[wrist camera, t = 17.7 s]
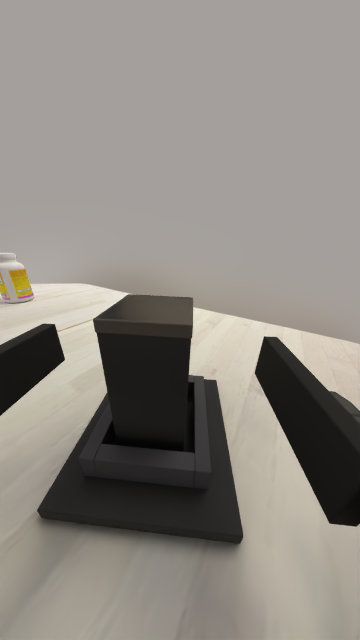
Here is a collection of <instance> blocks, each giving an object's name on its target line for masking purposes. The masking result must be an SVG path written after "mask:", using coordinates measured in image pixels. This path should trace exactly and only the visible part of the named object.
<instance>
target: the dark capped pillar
mask: <svg viewBox="0 0 360 640" xmlns="http://www.w3.org/2000/svg"><path fill="white" fill-rule="evenodd" d="M93 322H94V328H95V332H96V333H97V337H98V343H99V348H100V353H101V359H102V364H103V370H104V375H105V381H106V386H107V391H108V397H109V402H110V408H111V413H112V419H113V424H114V429H115V435H116V440H117V445H120V446H130V447H139V448H149V449H159V450H169V451H179V452H184V438H185V423H186V407H187V392H188V377H189V361H190V346H191V338H192V331H193V298H189V297H168V296H150V295H130V294H129V295H127V296H126V297H124V298H123V299H121V300H120V301H118V302H117V303H116V304H114V305H113V306H111V307H110V308H108V309H107V310H106V311H104V312H103V313H101V314H100V315H98V316H97V317H96V318H94V319H93Z"/></svg>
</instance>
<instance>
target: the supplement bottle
mask: <svg viewBox="0 0 360 640" xmlns="http://www.w3.org/2000/svg"><path fill="white" fill-rule="evenodd" d="M16 258H17V257H16V255H15V253H0V293H1V295H2V298H3V300H4V301H5V302H7V303H19V302H26V301H29V300H32V299H33V298H34V295H33V292H32V289H31V286H30V283H29V280H28V277H27V274H26V270H25V268H24V266H23V265H22V264H21V263H18V262H17V261H16Z"/></svg>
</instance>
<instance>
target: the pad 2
mask: <svg viewBox="0 0 360 640" xmlns="http://www.w3.org/2000/svg"><path fill="white" fill-rule="evenodd" d="M37 511H38V513H39V514H40V516H41V517H42V518H46V519H53V520H61V521H69V522H77V523H84V524H92V525H100V526H108V527H115V528H123V529H131V530H139V531H146V532H154V533H162V534H170V535H177V536H185V537H193V538H201V539H208V540H216V541H224V542H232V543H241V541H242V538H243V531H242V525H241V520H240V514H239V508H238V502H237V497H236V491H235V485H234V479H233V474H232V468H231V462H230V456H229V451H228V445H227V439H226V433H225V428H224V422H223V416H222V411H221V405H220V399H219V393H218V388H217V382H216V380H207V379H204V377H203V376H192V375H189V377H188V392H187V407H186V423H185V438H184V452H179V451H169V450H159V449H149V448H139V447H130V446H120V445H117V440H116V435H115V429H114V424H113V419H112V413H111V408H110V402H109V397H108V393H107V394H106V396H105V398H104V399H103V401H102V403H101V404H100V406H99V408H98V409H97V411H96V413H95V414H94V416H93V418H92V419H91V421H90V423H89V424H88V426H87V428H86V429H85V431H84V433H83V434H82V436H81V438H80V439H79V441H78V443H77V444H76V446H75V448H74V449H73V451H72V453H71V454H70V456H69V458H68V459H67V461H66V463H65V464H64V466H63V468H62V469H61V471H60V473H59V474H58V476H57V478H56V479H55V481H54V483H53V484H52V486H51V488H50V489H49V491H48V493H47V494H46V496H45V498H44V499H43V501H42V503H41V505H40V506H39V508H38V510H37Z"/></svg>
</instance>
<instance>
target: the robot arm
mask: <svg viewBox="0 0 360 640" xmlns="http://www.w3.org/2000/svg"><path fill="white" fill-rule="evenodd" d="M64 360H65V358H64V354H63V351H62V348H61V344H60V341H59V337H58V334H57V330H56V327H55V324H42V325H40V326H38V327H35V328H33V329H31V330H29V331H27V332H25V333H23V334H21V335H19V336H17V337H15V338H13V339H11V340H9V341H7V342H5V343H3V344H1V345H0V416H1V415H2V414H3V413H4V412H5V411H6V410H8V409H9V408H10V407H11V406H12V405H13V404H14V403H16V402H17V401H18V400H19V399H20V398H21V397H23V396H24V395H25V394H26V393H27V392H28V391H29V390H31V389H32V388H33V387H34V386H35V385H36V384H38V383H39V382H40V381H41V380H42V379H43V378H45V377H46V376H47V375H48V374H49V373H50V372H51V371H53V370H54V369H55V368H56V367H57V366H58V365H60V364H61V363H62V362H63V361H64ZM255 375H256V377H257V379H258V381H259V383H260V385H261V387H262V389H263V391H264V393H265V395H266V397H267V399H268V401H269V403H270V405H271V407H272V409H273V411H274V413H275V415H276V417H277V419H278V421H279V423H280V425H281V427H282V429H283V431H284V433H285V435H286V437H287V439H288V441H289V443H290V445H291V447H292V449H293V451H294V453H295V455H296V457H297V459H298V461H299V463H300V465H301V467H302V469H303V471H304V473H305V475H306V477H307V479H308V481H309V483H310V485H311V487H312V489H313V491H314V493H315V495H316V497H317V499H318V501H319V503H320V505H321V507H322V509H323V511H324V513H325V515H326V517H327V519H328V521H329V523H330V524H338V525H347V526H356V527H357V526H358V525H359V524H360V411H359V410H358V409H357V408H356V407H355V406H354V405H353V404H352V403H351V402H349V401H348V400H346V399H345V398H343V397H342V396H341V395H339V394H338V393H336V392H331V391H328V390H327V389H326V388H325V387H324V386H323V385H322V384H321V383H320V382H319V380H318V379H317V378H316V377H315V376H314V375H313V374H312V373H311V372H310V371H309V370H308V369H307V368H306V367H305V366H304V365H303V364H302V363H301V362H300V361H299V360H298V358H297V357H296V356H295V355H294V354H293V353H292V352H291V351H290V350H289V349H288V348H287V347H286V346H285V345H284V344H283V343H282V342H281V341H280V340H279V339H278V338H277V337H264V339H263V343H262V347H261V351H260V354H259V358H258V362H257V366H256V370H255Z"/></svg>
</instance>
